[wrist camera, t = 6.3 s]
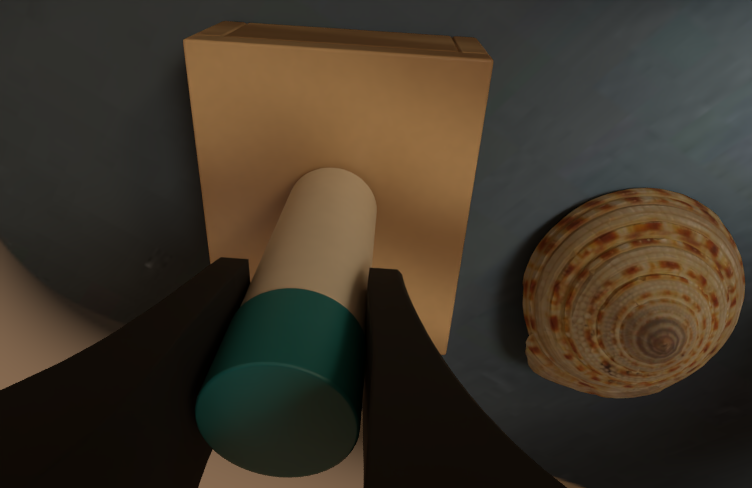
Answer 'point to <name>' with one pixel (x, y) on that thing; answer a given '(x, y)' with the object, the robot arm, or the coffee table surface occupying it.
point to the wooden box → (342, 140)
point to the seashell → (631, 293)
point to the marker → (298, 337)
